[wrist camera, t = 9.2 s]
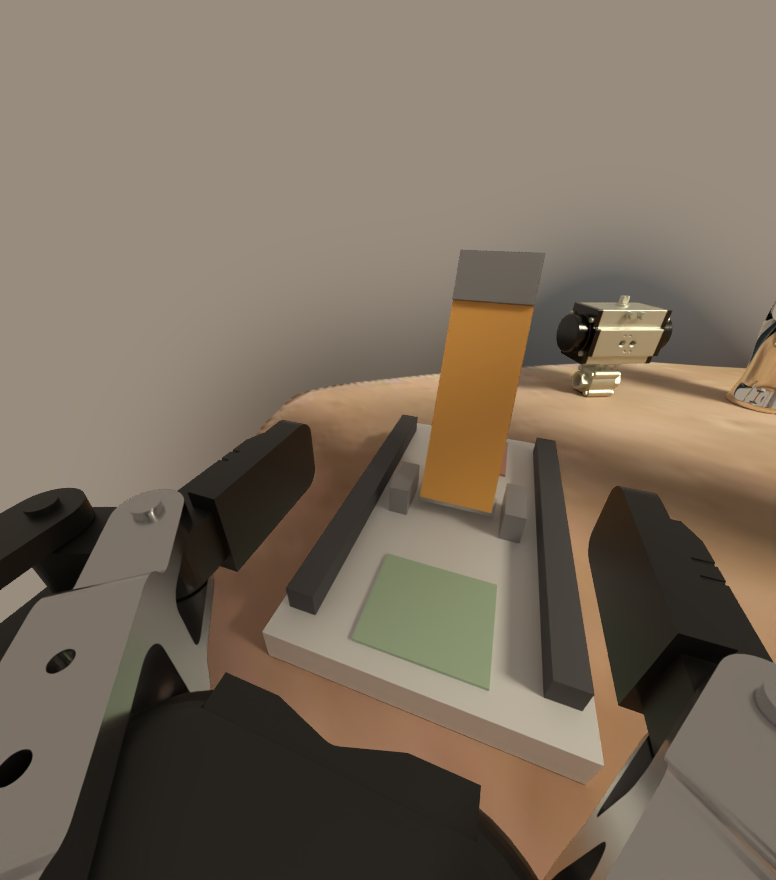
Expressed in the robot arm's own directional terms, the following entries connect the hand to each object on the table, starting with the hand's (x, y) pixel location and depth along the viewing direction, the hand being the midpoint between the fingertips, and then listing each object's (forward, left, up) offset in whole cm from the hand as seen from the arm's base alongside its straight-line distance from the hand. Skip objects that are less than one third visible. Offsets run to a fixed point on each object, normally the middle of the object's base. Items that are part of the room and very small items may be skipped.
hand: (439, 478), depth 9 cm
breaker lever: (-9, -5, -9) cm, 13 cm away
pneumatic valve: (-42, -9, -12) cm, 45 cm away
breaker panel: (-9, -5, -12) cm, 16 cm away
